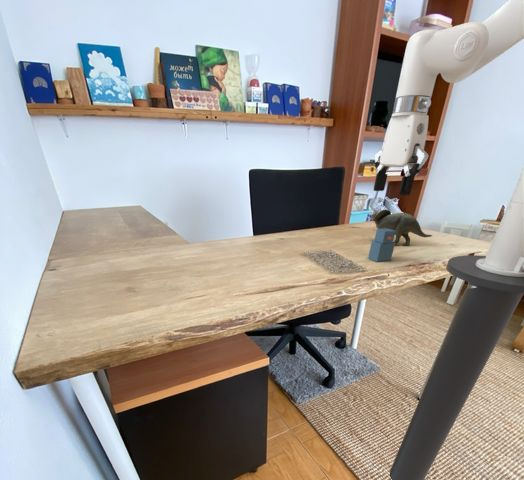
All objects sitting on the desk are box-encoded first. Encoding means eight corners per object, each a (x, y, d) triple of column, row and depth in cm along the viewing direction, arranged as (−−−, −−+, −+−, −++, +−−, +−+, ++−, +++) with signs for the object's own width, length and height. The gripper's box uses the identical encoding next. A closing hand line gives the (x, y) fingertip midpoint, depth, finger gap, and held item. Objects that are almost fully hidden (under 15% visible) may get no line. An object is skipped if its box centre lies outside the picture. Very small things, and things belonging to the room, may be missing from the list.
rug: (333, 274, 74) (334, 270, 74) (301, 253, 90) (301, 250, 89) (366, 270, 77) (367, 267, 76) (330, 251, 92) (330, 248, 92)
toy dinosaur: (429, 247, 99) (441, 210, 93) (422, 252, 94) (434, 213, 88) (367, 237, 111) (374, 204, 105) (358, 240, 105) (364, 206, 99)
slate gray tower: (392, 260, 85) (399, 231, 81) (377, 262, 84) (384, 232, 79) (381, 256, 89) (388, 228, 84) (368, 258, 87) (374, 229, 83)
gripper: (454, 105, 62) (427, 196, 72) (397, 114, 75) (380, 189, 85) (427, 102, 60) (402, 196, 69) (373, 111, 73) (359, 189, 83)
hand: (390, 192), depth 77 cm, fingers open, 9 cm apart
